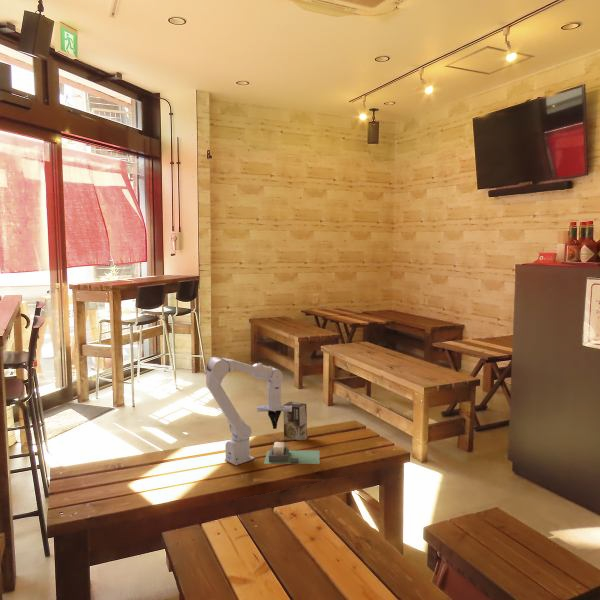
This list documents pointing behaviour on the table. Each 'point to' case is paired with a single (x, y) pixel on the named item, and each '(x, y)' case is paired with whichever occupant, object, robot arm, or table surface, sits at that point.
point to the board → (293, 457)
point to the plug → (278, 448)
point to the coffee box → (295, 422)
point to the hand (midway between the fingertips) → (274, 428)
